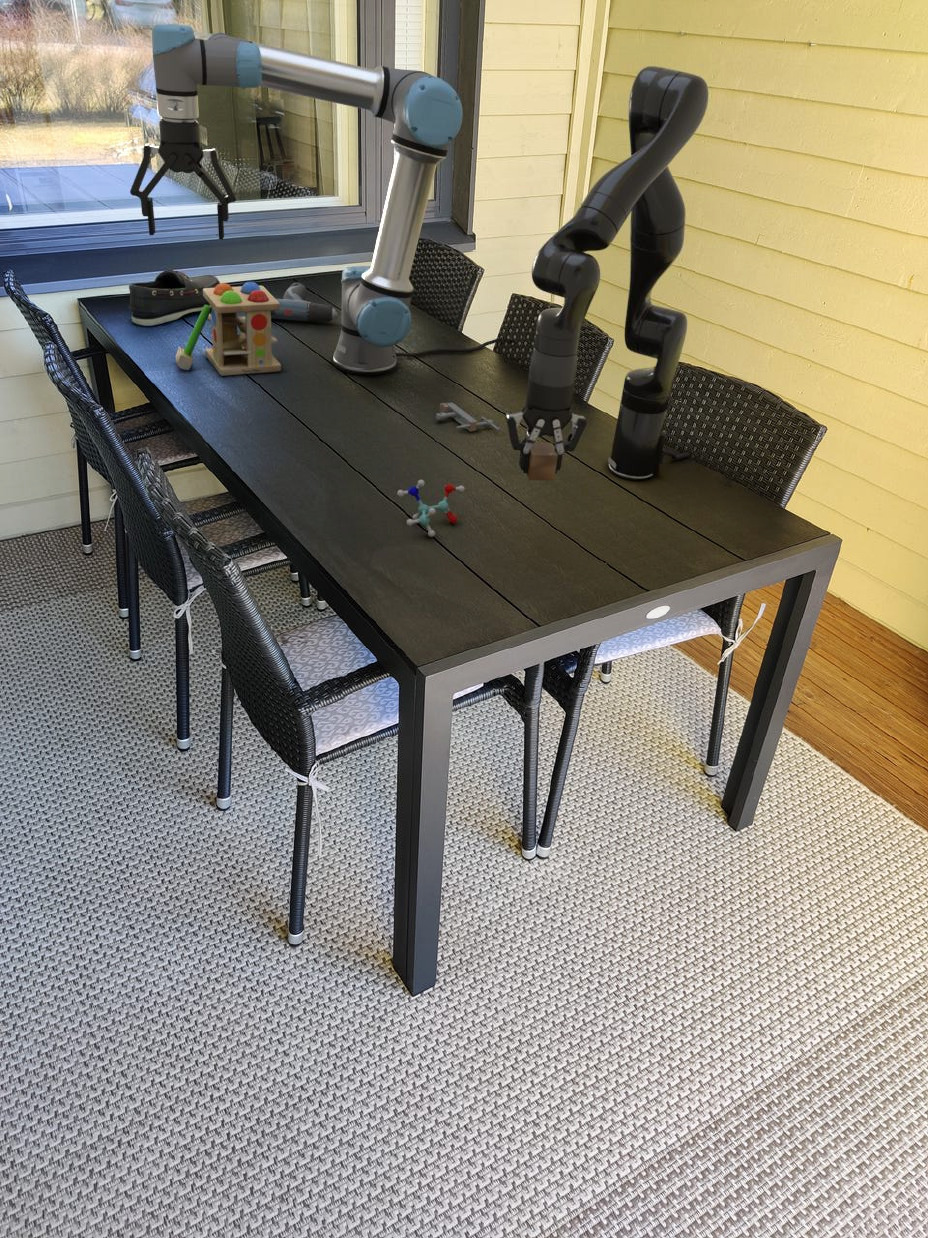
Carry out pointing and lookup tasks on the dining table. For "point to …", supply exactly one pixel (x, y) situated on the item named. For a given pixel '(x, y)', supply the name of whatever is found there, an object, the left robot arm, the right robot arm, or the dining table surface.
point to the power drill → (301, 307)
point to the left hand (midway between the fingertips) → (187, 235)
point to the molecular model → (424, 508)
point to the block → (542, 462)
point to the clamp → (459, 414)
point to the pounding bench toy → (229, 347)
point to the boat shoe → (168, 297)
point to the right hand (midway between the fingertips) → (539, 471)
